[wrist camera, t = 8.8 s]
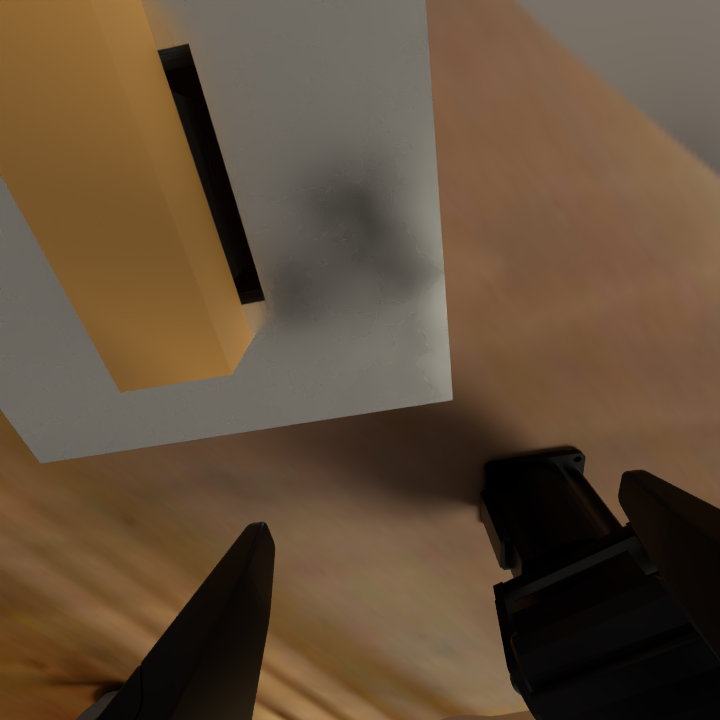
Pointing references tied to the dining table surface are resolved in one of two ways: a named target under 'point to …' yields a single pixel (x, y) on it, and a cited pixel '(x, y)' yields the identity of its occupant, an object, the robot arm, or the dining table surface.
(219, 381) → the rosette plate
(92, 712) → the pocket watch
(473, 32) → the dining table surface
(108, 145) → the wedge pin
